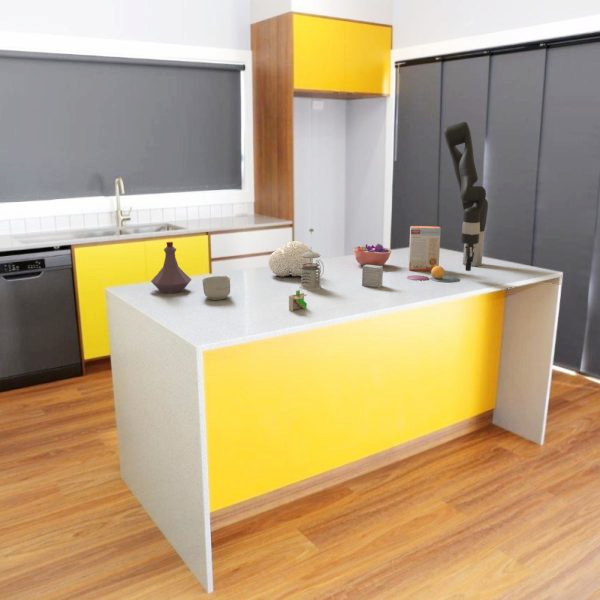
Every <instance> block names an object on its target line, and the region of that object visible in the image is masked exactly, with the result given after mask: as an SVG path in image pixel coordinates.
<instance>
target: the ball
mask: <svg viewBox="0 0 600 600" xmlns="http://www.w3.org/2000/svg"><path fill="white" fill-rule="evenodd" d="M445 271H446V270H445V268H444V267H442V266H440V265H439V266H435V267H433V269H432V270H431V271H430V272H431V277H434V278H435V279H441V278H442V277H443V276H445Z"/></svg>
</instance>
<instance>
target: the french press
mask: <svg viewBox="0 0 600 600" xmlns="http://www.w3.org/2000/svg"><path fill="white" fill-rule="evenodd" d="M308 232H310V233H312V232H314V229H313V228H309V229H308ZM301 256H302V257H304V258H313V259H316V260H315V263H314V262H313V263H305V264H303V266H304V267H302V268H301V274H302V275H301V276H300V277H301V278H300V279H301V284H300V285H299V286H298V288H299V289H302V290H306V291H317V290H322V288H323V287H322V286H321V277H322V276H323V275H324V272H325V270H324V269H325V267H324V263H323V261H321V259H319V260H318V258H320V257H321V254H320V253H318V252H317V251H316V252H315V251H312V250H310V252H305V253H304V254H302V255H301ZM320 263H321V264H320ZM321 265H322V266H321Z"/></svg>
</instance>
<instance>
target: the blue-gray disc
mask: <svg viewBox="0 0 600 600" xmlns="http://www.w3.org/2000/svg"><path fill="white" fill-rule="evenodd" d="M429 280H431V281H433V282H438V283H446V284H447V283H459V282H460V280H461V279H460V278H459V277H455V276H451V275H444V276H443V277H442V278H441V279H435V278H434V277H433V276H431V277H429Z"/></svg>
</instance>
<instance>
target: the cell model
mask: <svg viewBox="0 0 600 600" xmlns="http://www.w3.org/2000/svg"><path fill="white" fill-rule="evenodd" d="M352 252H353V254H354V257H355V260H356V262H357V263H358V265H359V264H360V265H362V266H364V265H375V266H384V265H385V264H386V263H387V261H388V260H389V258H390V256H391V254H392V252H393V251H392V250H391V249H390V248H388V247H384V246H383V245H382V244H380V243H376V245H373V244H372V245H368V244H365V246H364V245H363V246H360V245H359V246H356V247H353V248H352Z"/></svg>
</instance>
